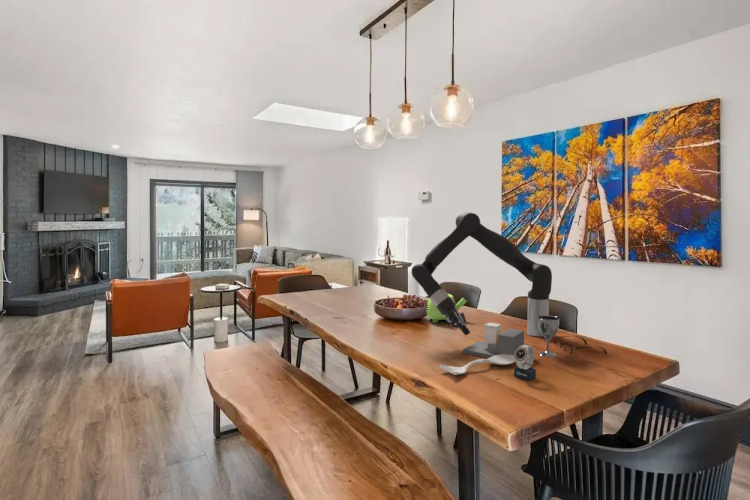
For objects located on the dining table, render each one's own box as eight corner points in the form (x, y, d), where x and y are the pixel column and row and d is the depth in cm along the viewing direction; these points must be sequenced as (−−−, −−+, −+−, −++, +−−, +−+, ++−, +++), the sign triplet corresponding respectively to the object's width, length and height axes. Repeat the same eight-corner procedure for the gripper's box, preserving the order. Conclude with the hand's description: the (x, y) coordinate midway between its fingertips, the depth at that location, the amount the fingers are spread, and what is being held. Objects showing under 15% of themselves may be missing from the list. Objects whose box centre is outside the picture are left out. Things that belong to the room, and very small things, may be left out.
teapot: (470, 325, 218) (471, 294, 217) (428, 325, 218) (429, 294, 217) (461, 314, 243) (461, 287, 242) (424, 314, 243) (424, 287, 242)
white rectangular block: (483, 348, 172) (484, 324, 171) (489, 345, 176) (489, 322, 175) (496, 351, 168) (496, 326, 168) (501, 348, 173) (501, 324, 172)
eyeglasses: (551, 344, 185) (551, 335, 185) (585, 343, 186) (585, 334, 186) (572, 356, 169) (572, 346, 168) (609, 355, 170) (610, 345, 170)
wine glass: (548, 358, 164) (549, 320, 163) (532, 353, 171) (533, 316, 170) (562, 355, 168) (563, 318, 167) (546, 350, 175) (547, 314, 174)
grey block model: (462, 352, 172) (463, 329, 172) (478, 344, 184) (479, 322, 183) (511, 363, 160) (511, 338, 159) (525, 353, 172) (525, 330, 171)
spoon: (437, 373, 151) (437, 363, 151) (504, 357, 165) (504, 348, 165) (453, 381, 143) (453, 371, 143) (522, 364, 157) (522, 355, 157)
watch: (510, 377, 145) (511, 346, 144) (524, 372, 150) (524, 341, 149) (525, 382, 141) (526, 350, 140) (538, 377, 145) (539, 345, 145)
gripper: (440, 298, 178) (467, 332, 171) (455, 294, 188) (480, 325, 182) (429, 309, 182) (455, 342, 175) (444, 304, 192) (469, 335, 185)
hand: (468, 333), depth 178 cm, fingers closed
